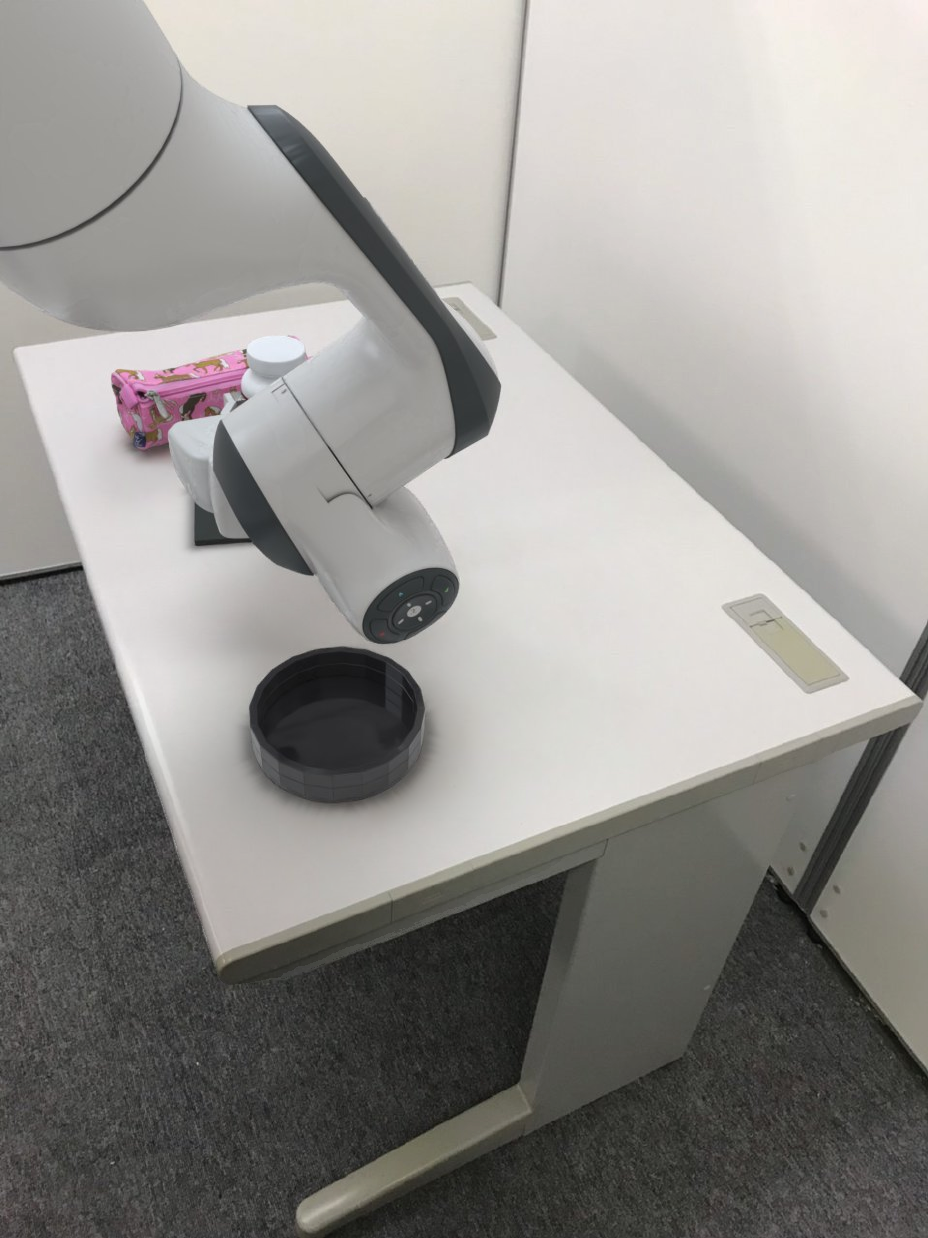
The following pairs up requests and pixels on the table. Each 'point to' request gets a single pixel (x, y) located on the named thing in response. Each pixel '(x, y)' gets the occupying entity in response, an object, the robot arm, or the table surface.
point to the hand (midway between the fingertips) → (276, 392)
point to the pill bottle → (270, 362)
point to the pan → (337, 724)
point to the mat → (210, 529)
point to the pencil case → (175, 395)
